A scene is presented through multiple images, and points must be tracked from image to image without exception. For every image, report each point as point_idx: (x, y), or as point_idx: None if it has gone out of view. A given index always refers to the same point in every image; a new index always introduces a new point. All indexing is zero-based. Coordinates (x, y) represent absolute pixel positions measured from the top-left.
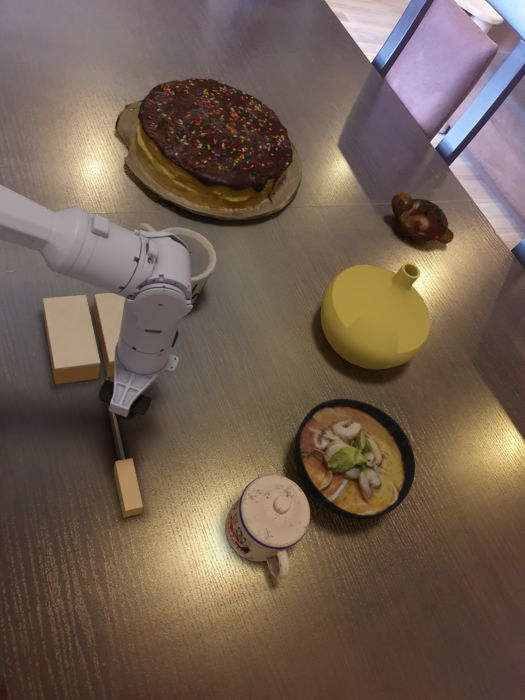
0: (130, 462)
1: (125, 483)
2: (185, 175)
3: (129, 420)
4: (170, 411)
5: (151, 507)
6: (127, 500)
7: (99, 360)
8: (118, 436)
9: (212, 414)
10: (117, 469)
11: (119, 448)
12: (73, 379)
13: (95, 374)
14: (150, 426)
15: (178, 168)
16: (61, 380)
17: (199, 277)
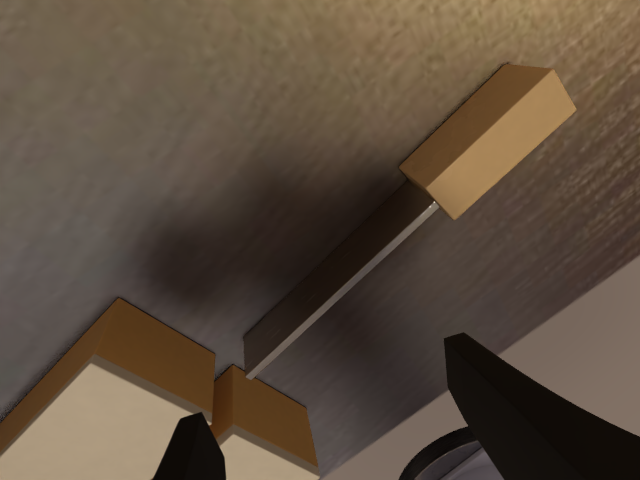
0: (439, 184)
1: (503, 158)
2: None
3: (469, 336)
4: (179, 169)
5: (477, 43)
6: (547, 123)
7: (229, 439)
8: (381, 256)
9: (71, 30)
10: (473, 202)
11: (410, 233)
12: (278, 401)
13: (239, 386)
14: (263, 190)
15: None
16: (298, 414)
17: None
